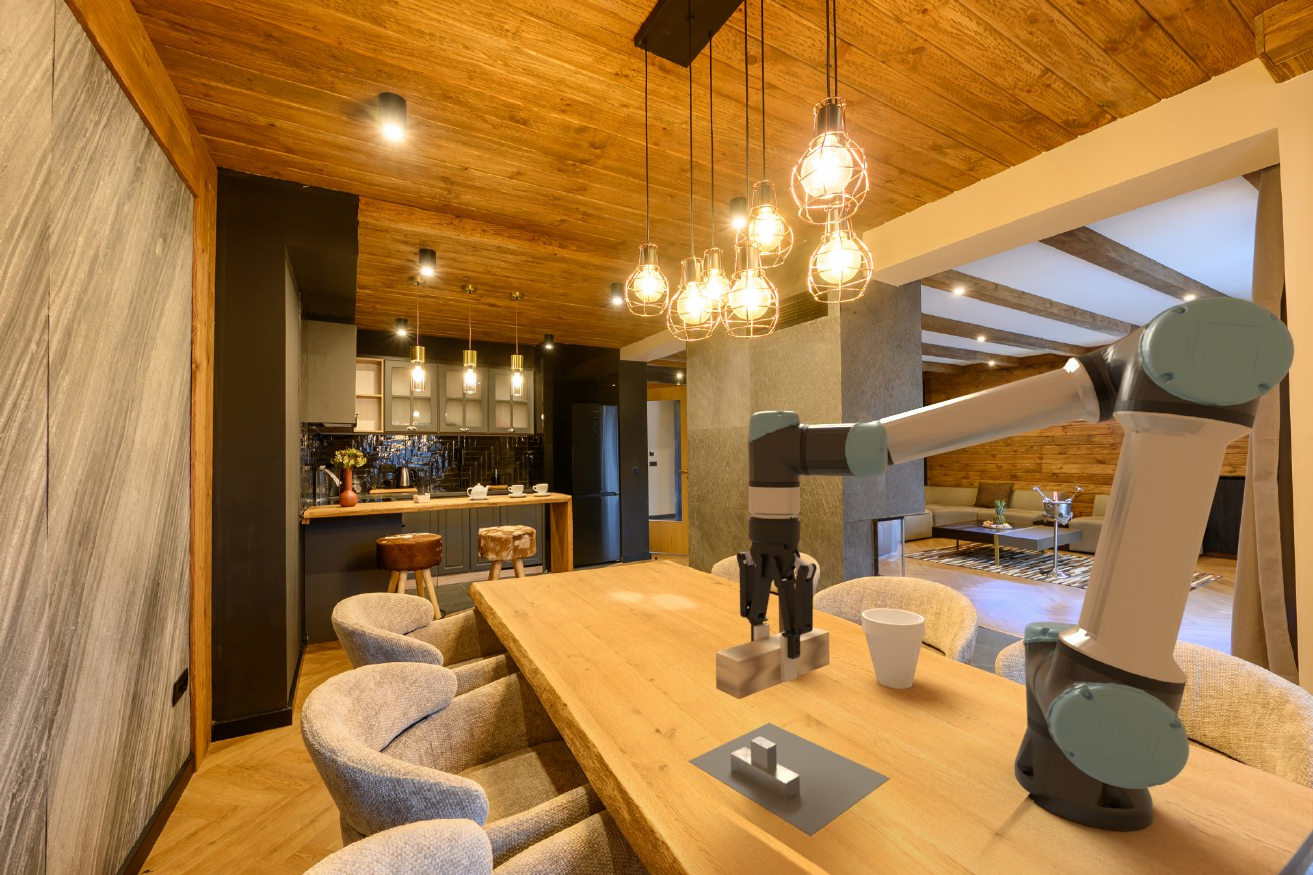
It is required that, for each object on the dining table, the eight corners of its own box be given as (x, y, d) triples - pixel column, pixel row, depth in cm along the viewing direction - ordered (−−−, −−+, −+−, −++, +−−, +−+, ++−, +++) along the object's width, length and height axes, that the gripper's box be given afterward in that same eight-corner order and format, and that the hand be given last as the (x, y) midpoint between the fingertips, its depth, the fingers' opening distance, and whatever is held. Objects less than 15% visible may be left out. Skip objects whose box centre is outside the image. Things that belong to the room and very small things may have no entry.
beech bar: (738, 699, 75) (738, 661, 75) (716, 688, 78) (715, 652, 78) (829, 664, 87) (829, 631, 87) (806, 656, 90) (806, 625, 90)
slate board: (890, 785, 80) (890, 778, 80) (810, 844, 68) (810, 835, 68) (769, 728, 97) (769, 722, 97) (688, 767, 85) (688, 761, 85)
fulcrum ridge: (799, 794, 76) (799, 753, 76) (786, 802, 74) (785, 760, 74) (744, 763, 84) (744, 726, 84) (730, 770, 82) (730, 732, 82)
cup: (850, 676, 119) (848, 612, 120) (893, 667, 124) (891, 605, 125) (895, 699, 108) (893, 627, 108) (941, 688, 113) (939, 620, 113)
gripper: (839, 518, 78) (841, 686, 78) (748, 509, 92) (748, 651, 91) (806, 522, 74) (807, 701, 73) (715, 511, 88) (715, 662, 87)
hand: (775, 673), depth 82 cm, fingers closed on beech bar, 4 cm apart
